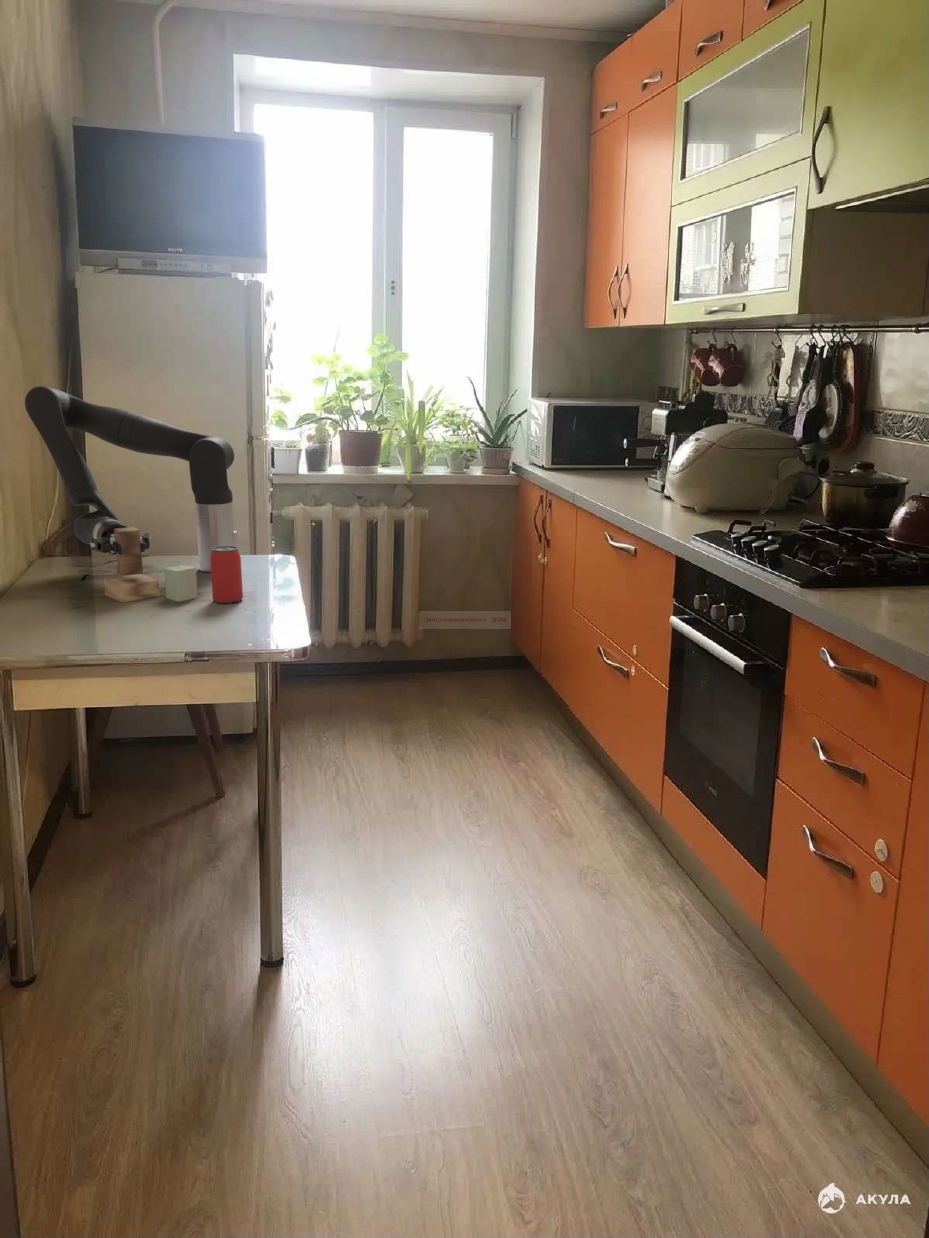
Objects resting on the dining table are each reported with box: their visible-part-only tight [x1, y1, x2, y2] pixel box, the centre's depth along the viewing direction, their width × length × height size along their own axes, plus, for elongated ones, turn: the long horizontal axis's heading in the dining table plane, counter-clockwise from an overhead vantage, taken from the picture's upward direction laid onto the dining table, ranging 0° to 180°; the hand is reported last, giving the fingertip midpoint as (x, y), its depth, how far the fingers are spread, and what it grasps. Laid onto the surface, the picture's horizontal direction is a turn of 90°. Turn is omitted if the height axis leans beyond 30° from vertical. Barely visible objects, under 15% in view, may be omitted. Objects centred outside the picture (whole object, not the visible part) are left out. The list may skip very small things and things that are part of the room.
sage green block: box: [163, 564, 198, 603], centre depth 227 cm, size 5×5×7 cm
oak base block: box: [103, 573, 161, 603], centre depth 229 cm, size 9×9×4 cm
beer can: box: [210, 546, 244, 604], centre depth 224 cm, size 7×7×12 cm
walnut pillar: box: [114, 526, 144, 577], centre depth 227 cm, size 4×4×10 cm
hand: (131, 548), depth 225 cm, fingers closed on walnut pillar, 4 cm apart
